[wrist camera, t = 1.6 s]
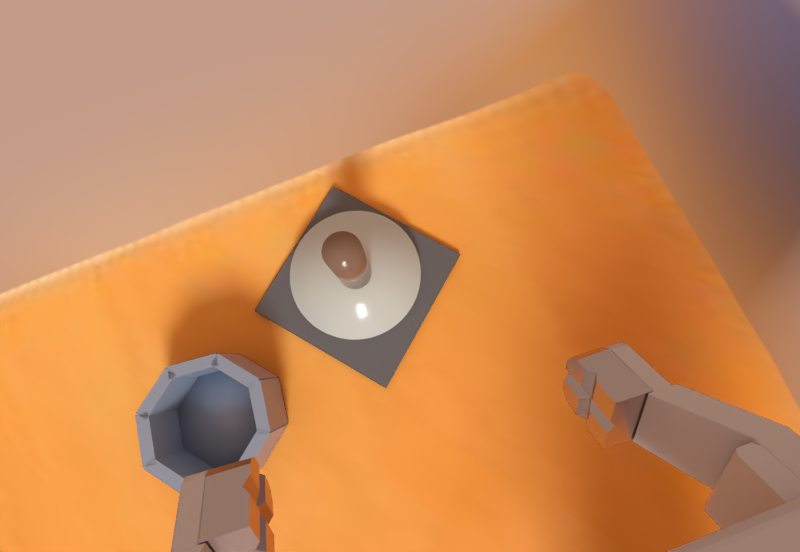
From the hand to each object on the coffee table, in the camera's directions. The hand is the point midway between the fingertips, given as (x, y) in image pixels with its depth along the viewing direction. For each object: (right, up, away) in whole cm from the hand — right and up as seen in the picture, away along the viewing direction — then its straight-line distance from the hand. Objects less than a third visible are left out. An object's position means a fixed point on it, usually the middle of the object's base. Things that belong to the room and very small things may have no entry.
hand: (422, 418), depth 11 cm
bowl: (-16, -9, +27) cm, 33 cm away
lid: (-5, +4, +29) cm, 30 cm away
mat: (-4, +3, +30) cm, 30 cm away
